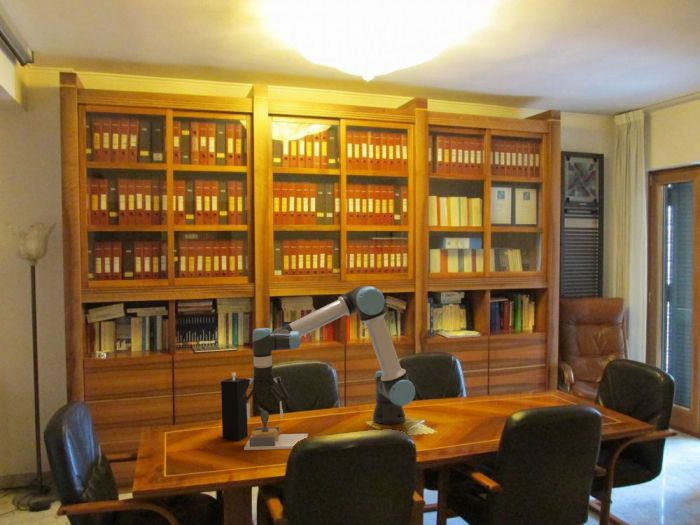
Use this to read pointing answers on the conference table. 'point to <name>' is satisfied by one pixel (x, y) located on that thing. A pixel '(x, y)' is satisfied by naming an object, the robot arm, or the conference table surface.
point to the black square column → (233, 409)
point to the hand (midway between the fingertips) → (265, 417)
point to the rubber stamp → (265, 431)
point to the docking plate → (273, 441)
